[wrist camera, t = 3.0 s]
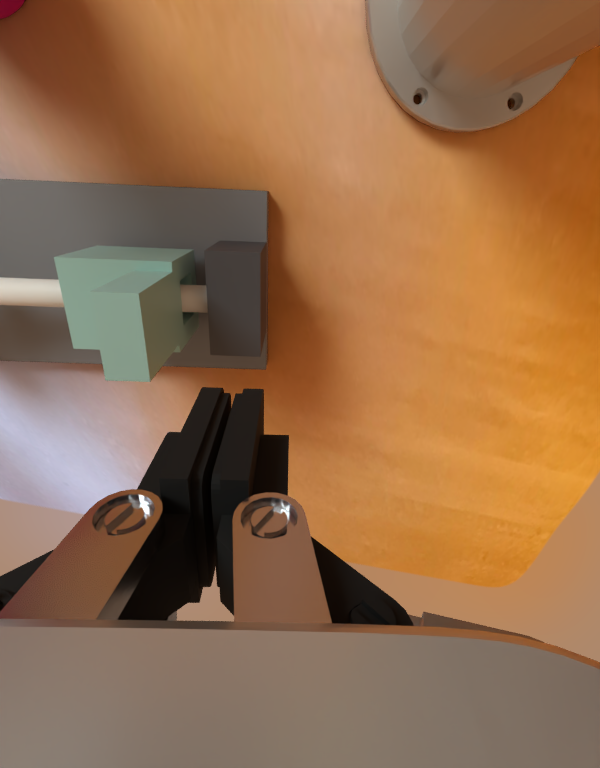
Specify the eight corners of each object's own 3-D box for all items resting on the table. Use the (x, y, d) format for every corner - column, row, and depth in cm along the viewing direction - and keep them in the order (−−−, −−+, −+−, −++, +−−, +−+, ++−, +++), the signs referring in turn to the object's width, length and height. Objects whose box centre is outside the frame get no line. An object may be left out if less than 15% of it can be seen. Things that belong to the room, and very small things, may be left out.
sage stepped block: (193, 249, 25) (137, 281, 16) (199, 326, 27) (151, 391, 18) (97, 245, 25) (-15, 275, 16) (110, 322, 27) (18, 387, 18)
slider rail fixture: (268, 191, 26) (256, 190, 18) (267, 361, 31) (257, 416, 24) (-126, 173, 25) (-308, 165, 18) (-61, 350, 31) (-180, 403, 23)
